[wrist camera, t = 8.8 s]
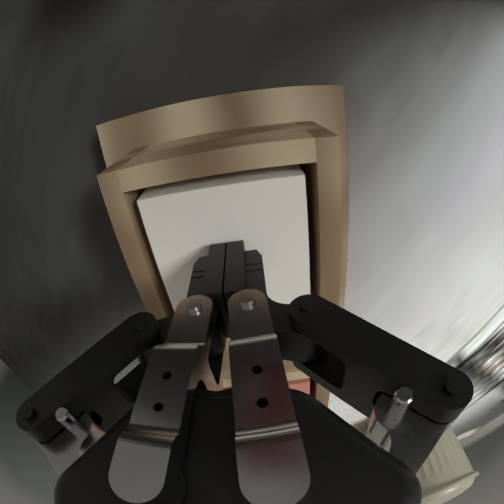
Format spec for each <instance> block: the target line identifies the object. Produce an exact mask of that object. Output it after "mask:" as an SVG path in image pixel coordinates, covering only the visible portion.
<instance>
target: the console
mask: <svg viewBox="0 0 504 504" xmlns="http://www.w3.org/2000/svg"><path fill="white" fill-rule="evenodd" d="M96 127H97V131H98V136H99V140H100V144H101V148H102V152H103V156H104V159H105V163H106V167H107V168H106V169H105V170H104V171H102V172H101V173H100V174H98V175H97V179H98V183H99V186H100V189H101V192H102V196H103V199H104V202H105V205H106V208H107V211H108V214H109V217H110V220H111V223H112V226H113V229H114V231H115V234H116V237H117V240H118V242H119V245H120V248H121V250H122V253H123V256H124V258H125V261H126V263H127V266H128V268H129V271H130V273H131V276H132V278H133V281H134V283H135V285H136V288H137V290H138V293H139V295H140V297H141V299H142V302H143V304H144V306H145V308H146V311H147V312H148V313H151V314H153V315H154V316H155V318H156V320H159V319H162V318H165V317H168V316H171V315H173V314H174V313H175V312H174V309H173V307H172V304H171V301H170V299H169V296H168V293H167V291H166V288H165V285H164V283H163V280H162V277H161V274H160V271H159V269H158V266H157V263H156V260H155V257H154V254H153V251H152V248H151V245H150V242H149V239H148V236H147V233H146V230H145V227H144V223H143V220H142V217H141V214H140V210H139V207H138V204H137V200H138V198H139V197H140V196H141V195H142V193H143V192H144V191H145V190H146V189H147V187H151V186H156V185H161V184H166V183H172V182H177V181H182V180H188V179H194V178H200V177H205V176H212V175H218V174H224V173H231V172H238V171H245V170H252V169H260V168H268V167H276V166H285V165H294V164H298V165H299V167H300V168H301V170H302V171H303V173H304V174H305V183H306V198H307V215H308V236H309V262H310V294H312V295H318V296H320V297H323V298H324V299H326V300H328V301H330V302H332V303H334V304H336V305H337V306H339V307H341V308H343V309H344V300H345V287H346V271H347V251H348V216H349V176H348V142H347V123H346V108H345V95H344V85H338V84H327V85H303V86H288V87H277V88H266V89H257V90H249V91H241V92H234V93H228V94H221V95H215V96H210V97H204V98H199V99H194V100H189V101H184V102H179V103H175V104H170V105H166V106H162V107H158V108H154V109H150V110H146V111H142V112H139V113H135V114H131V115H128V116H125V117H121V118H118V119H115V120H111V121H108V122H106V123H103V124H100V125H97V126H96ZM229 342H231V339H230V338H226V351H227V357H226V365H225V373H224V381H223V387H232V385H231V373H230V360H229V346H228V344H229ZM283 364H284V368H285V373H286V377H287V381H292V380H299V379H305V378H309V379H310V395H311V396H312V397H314V398H316V399H317V400H318V401H320V402H321V403H322V404H324V405H325V406H326V407H328V401H329V393H330V391H328V390H327V389H325V388H324V387H323V386H321V385H320V384H318V383H317V382H315V381H314V380H313V379H311V378H310V377H308V376H307V375H306V374H304V373H303V372H301V371H300V370H299V369H297V368H296V367H295V366H294V365H293V362H292V361H287V360H283Z"/></svg>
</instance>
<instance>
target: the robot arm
mask: <svg viewBox="0 0 504 504" xmlns="http://www.w3.org/2000/svg"><path fill="white" fill-rule="evenodd" d="M226 338H230V339H231V342H229V344H228V346H229V360H230V373H231V385H232V387H231V388H227V389H224V390H223V381H224V373H225V365H226V357H227V351H226ZM136 358H138V360H139V362H140V364H139V365H137V366H136V367H135V368H134V369H133V370H132V371H131V372H129V373H128V374H127V375H126V376H125V377H124V378H122V379H121V380H120V381H119V382H118V383H116V384H114V378H115V376H116V375H117V374H118V373H119V372H120V371H122V370H123V369H124V368H125V367H126V366H127V365H129V364H130V363H131V362H132V361H133V360H135V359H136ZM283 360H287V361H292V362H293V365H294V366H295V367H296V368H297V369H299V370H300V371H301V372H303V373H304V374H306V375H307V376H308V377H310V378H311V379H313V380H314V381H315V382H317V383H318V384H320V385H321V386H323V387H324V388H325V389H327V390H328V391H330V392H331V393H333V394H334V395H335V396H337V397H338V398H340V399H341V400H343V401H344V402H346V403H347V404H349V405H350V406H352V407H353V408H355V409H356V410H358V411H359V412H361V413H362V414H364V415H365V416H367V417H368V418H369V421H368V429H369V432H370V434H371V435H372V437H373V438H374V439H376V440H377V441H378V443H379V444H380V446H381V447H380V446H379V445H377V444H376V443H374V442H373V441H372V440H370V439H369V438H367V437H366V436H365V435H363V434H362V433H361V432H359V431H358V430H356V429H355V428H354V427H352V426H351V425H350V424H348V423H347V422H346V421H344V420H343V419H342V418H340V417H339V416H338V415H337V414H335V413H334V412H333V411H331V410H330V409H329V408H327V407H326V406H325V405H324V404H322V403H321V402H320V401H318V400H317V399H316V398H314V397H312V396H311V395H309V394H307V393H304V392H302V391H299V390H296V389H291V388H289V385H288V381H287V377H286V373H285V368H284V364H283ZM473 391H474V390H473V384H472V382H471V380H470V378H469V377H468V376H467V375H466V374H465V373H463V372H462V371H460V370H458V369H456V368H454V367H452V366H450V365H448V364H446V363H445V362H443V361H441V360H439V359H437V358H435V357H433V356H431V355H429V354H427V353H426V352H424V351H422V350H420V349H418V348H416V347H414V346H412V345H411V344H409V343H407V342H405V341H403V340H401V339H399V338H397V337H395V336H394V335H392V334H390V333H388V332H386V331H384V330H382V329H380V328H379V327H377V326H375V325H373V324H371V323H369V322H367V321H365V320H364V319H362V318H360V317H358V316H356V315H354V314H352V313H351V312H349V311H347V310H345V309H343V308H341V307H339V306H337V305H336V304H334V303H332V302H330V301H328V300H326V299H324V298H323V297H320V296H318V295H312V294H307V295H302V296H299V297H297V298H295V299H294V300H292V302H291V303H290V304H282V303H278V302H275V301H273V300H271V299H270V298H269V297H268V295H267V291H266V282H265V275H264V267H263V260H262V255H261V254H260V253H259V252H258V251H257V250H248V251H245V245H244V241H243V240H240V241H232V242H227V243H226V242H225V243H218V244H211V245H210V246H209V252H208V256H203V257H199V258H198V260H197V261H196V262H195V263H194V265H193V270H192V274H191V279H190V284H189V288H188V293H187V298H185V299H183V300H182V301H181V302H180V303H179V304H178V305H177V307H176V310H175V313H174V314H173V315H171V316H168V317H165V318H162V319H159V320H156V318H155V316H154V315H153V314H151V313H148V312H140V313H136V314H134V315H132V316H130V317H129V318H128V319H126V320H125V321H124V322H123V323H121V324H120V325H119V326H117V327H116V328H115V329H114V330H112V331H111V332H110V333H109V334H107V335H106V336H105V337H104V338H102V339H101V340H100V341H98V342H97V343H96V344H95V345H93V346H92V347H91V348H90V349H88V350H87V351H86V352H85V353H83V354H82V355H81V356H80V357H78V358H77V359H76V360H75V361H73V362H72V363H71V364H70V365H69V366H67V367H66V368H65V369H64V370H62V371H61V372H60V373H59V374H57V375H56V376H55V377H54V378H53V379H51V380H50V381H49V382H48V383H46V384H45V385H44V386H43V387H42V388H40V389H39V390H38V391H37V392H36V393H34V394H33V395H32V396H31V397H30V398H28V399H27V400H26V401H25V402H24V403H23V404H22V405H21V406H20V408H19V409H18V411H17V415H16V421H17V424H18V426H19V428H20V429H22V430H23V431H24V432H25V433H26V434H28V435H29V436H30V437H31V438H33V440H34V441H35V442H36V443H38V444H39V445H40V446H41V447H42V449H43V451H44V453H45V455H46V456H47V458H48V460H49V461H50V463H51V465H52V466H53V468H54V470H55V471H56V473H57V474H58V476H59V479H58V480H57V482H56V486H55V490H54V502H55V504H421V500H422V490H421V485H420V482H419V480H418V477H417V476H416V473H417V472H418V470H419V469H420V468H421V466H422V465H423V463H424V462H425V460H426V459H427V457H428V456H429V454H430V453H431V451H432V450H433V448H434V447H435V445H436V444H437V442H438V441H439V439H440V437H441V436H442V434H443V433H444V432H445V431H446V430H447V429H448V428H449V426H450V425H451V424H452V423H453V422H454V421H455V419H456V418H457V417H458V416H459V415H460V413H461V412H462V411H463V410H464V409H465V407H466V406H467V405H468V403H469V402H470V401H471V399H472V397H473Z"/></svg>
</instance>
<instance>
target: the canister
mask: <svg viewBox="0 0 504 504" xmlns="http://www.w3.org/2000/svg"><path fill="white" fill-rule="evenodd" d="M363 435H365V436H366V437H367V438H369V439H370V440H372V441H373V442H374V443H376V444H377V445H379V446H380V444H379V443H378V441H377V440H376V439H374V438H373V437H372V435H371V434H370V432H369V429H368V427H367V429H366V430H365V432H364V434H363ZM380 447H381V446H380ZM478 475H479V472H474V471H473V469H472V467H471V465H470V463H469V461H468V458H467V457H466V455H465V453H464V451H463V449H462V447H461V445H460V443H459V441H458V439H457V438H456V436H455V434H454V432H453V430H452V429H451V427H450V426H449V428H448V429H447V430H446V431H445V432H444V433H443V434H442V436H441V437H440V439H439V441H438V442H437V444H436V445H435V447H434V448H433V450H432V451H431V453H430V454H429V456H428V457H427V459H426V460H425V462H424V463H423V465H422V466H421V468H420V469H419V470H418V472H417V473H416V476H417V477H418V480H419V482H420V485H421V490H422V500H421V504H443V503H445V502H447V501H449V500H450V499H452V498H454V497H456V496H457V495H459V494H461V493H462V492H464V491H465V490H466V489H468V488H469V487H470V486H471V485H472V483H473V482H474V478H475V477H476V476H478Z"/></svg>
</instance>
